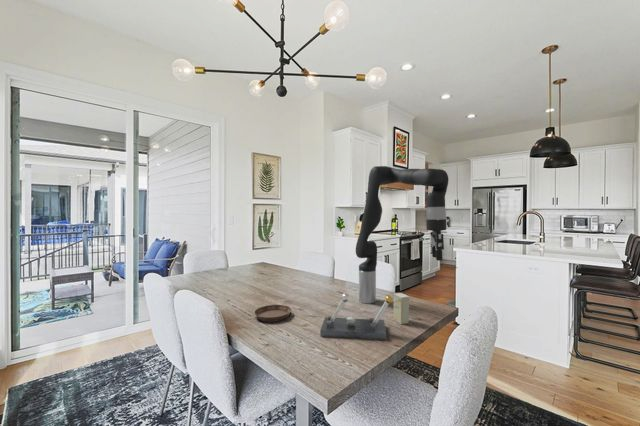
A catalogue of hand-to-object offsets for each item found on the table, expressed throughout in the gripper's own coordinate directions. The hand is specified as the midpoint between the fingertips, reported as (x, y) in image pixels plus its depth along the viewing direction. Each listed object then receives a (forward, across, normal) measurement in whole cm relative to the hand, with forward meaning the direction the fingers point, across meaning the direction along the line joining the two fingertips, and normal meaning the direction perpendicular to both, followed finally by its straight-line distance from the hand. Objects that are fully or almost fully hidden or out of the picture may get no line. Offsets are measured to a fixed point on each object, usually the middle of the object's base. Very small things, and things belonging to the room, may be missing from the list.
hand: (437, 258), depth 118 cm
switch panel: (+30, +1, -34) cm, 46 cm away
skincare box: (+31, -13, -14) cm, 36 cm away
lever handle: (+28, +1, -26) cm, 38 cm away
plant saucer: (+30, -9, -74) cm, 80 cm away
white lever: (+28, +2, -44) cm, 52 cm away
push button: (+28, +1, -35) cm, 45 cm away
